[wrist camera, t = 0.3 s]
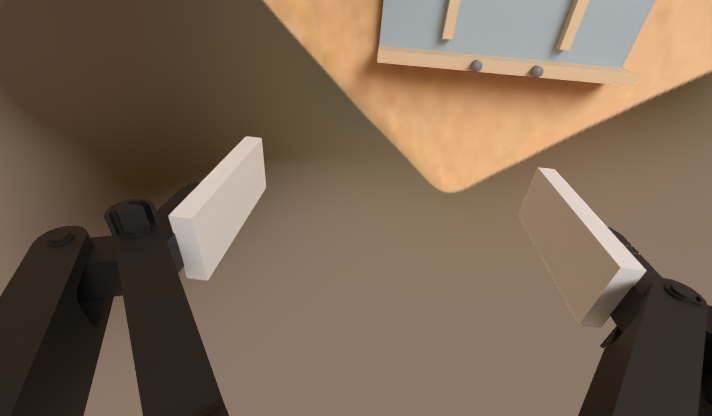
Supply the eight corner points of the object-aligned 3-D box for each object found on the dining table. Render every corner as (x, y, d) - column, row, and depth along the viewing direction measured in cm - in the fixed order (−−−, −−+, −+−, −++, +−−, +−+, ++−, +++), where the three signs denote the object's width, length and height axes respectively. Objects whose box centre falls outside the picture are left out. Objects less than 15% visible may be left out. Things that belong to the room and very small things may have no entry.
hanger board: (390, -70, 31) (390, -79, 27) (671, -48, 30) (713, -53, 26) (378, 56, 37) (376, 63, 33) (610, 77, 36) (638, 88, 32)
